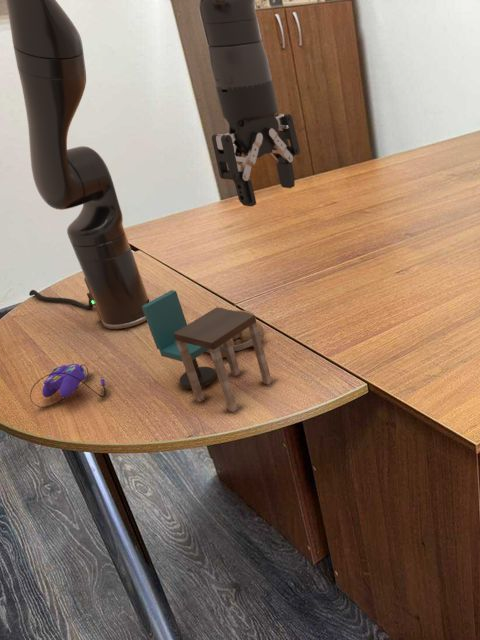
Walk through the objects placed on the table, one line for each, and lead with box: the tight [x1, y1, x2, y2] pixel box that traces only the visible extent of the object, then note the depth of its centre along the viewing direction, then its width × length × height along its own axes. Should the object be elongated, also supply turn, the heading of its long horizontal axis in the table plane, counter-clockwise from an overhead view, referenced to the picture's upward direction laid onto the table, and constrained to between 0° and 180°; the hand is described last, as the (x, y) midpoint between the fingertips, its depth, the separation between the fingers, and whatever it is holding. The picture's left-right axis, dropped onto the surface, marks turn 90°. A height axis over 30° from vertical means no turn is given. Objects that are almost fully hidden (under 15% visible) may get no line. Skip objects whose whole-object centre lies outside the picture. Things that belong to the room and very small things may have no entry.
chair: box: [142, 289, 217, 390], centre depth 105 cm, size 6×6×15 cm
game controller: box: [29, 363, 106, 409], centre depth 105 cm, size 10×8×10 cm
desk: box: [173, 306, 273, 413], centre depth 102 cm, size 8×9×12 cm
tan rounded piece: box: [205, 309, 265, 359], centre depth 118 cm, size 11×5×15 cm
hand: (269, 196), depth 97 cm, fingers open, 8 cm apart
